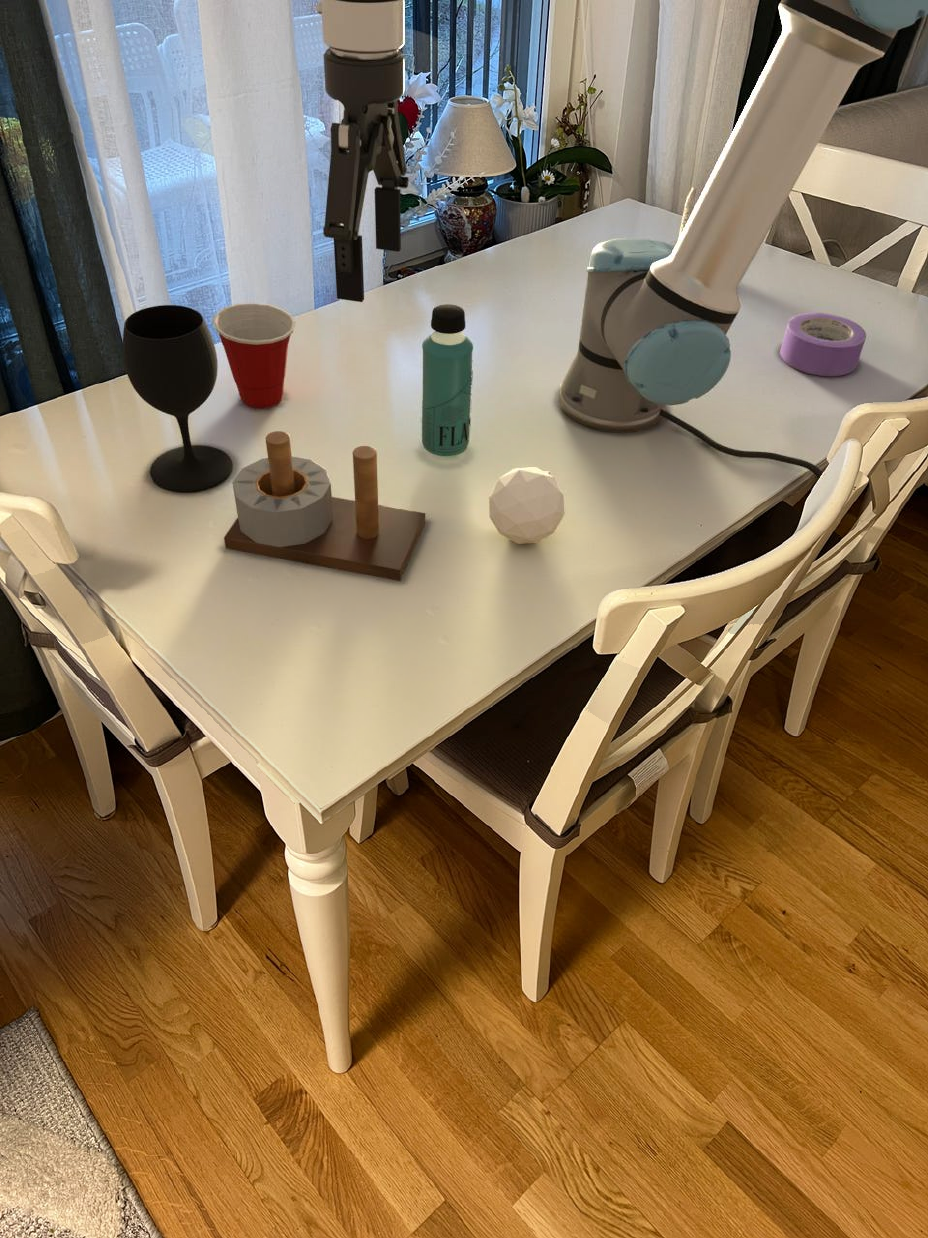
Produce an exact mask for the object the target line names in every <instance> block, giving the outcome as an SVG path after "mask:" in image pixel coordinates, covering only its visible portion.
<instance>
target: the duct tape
mask: <svg viewBox="0 0 928 1238" xmlns="http://www.w3.org/2000/svg"><path fill="white" fill-rule="evenodd" d="M291 456H292V455H291ZM292 466H293V475H294V485H295V493H294V494H293V495H288V496H281V497H278V496H273V495H272V487H271V478H270V470H269V462H268V457H265V458H264V457H263V458H261V459H259V460H257V461H254V462H252V463H250V464H249V465H247V466H244V467H243V468H241V470H239V472H238V474H237V475H236V477H235V478H234V479H233V481H231V482H232V488H233V495H234V501H235V509H236V515H237V518H238V521H239V525H240V530H241V532H242V533H244V534H245V535H246V536H248V537H249V538H250V539H252V540H253V541H255V542H256V543H259V544H265V545H270V546H275V547H286V546H293V545H299V544H305V543H308V542H309V541H311V540H313V539H315V538H316V537H318V536H320V535H322V534H324V533H325V532H326V530H327V528H328V526H329V525H330V523H331V521H332V519H333V508H332V497H333V496H332V495H333V494H332V483H331V479H330V477H329V473H328V471H327V469H326V468H325V467H323V466H321V465H320V464H318V463H316V462H315V461H314V460H312V459H310V458H305V457H299V456H292Z"/></svg>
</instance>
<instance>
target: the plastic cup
mask: <svg viewBox="0 0 928 1238" xmlns="http://www.w3.org/2000/svg"><path fill="white" fill-rule="evenodd" d="M296 323H297V322H296V319H294V317H293V314H290V313H289V312H288V311H286V310H285V309H283V308H281V307H277V306H275V305H272V304H269V303H268V304H267V303H261V302H260V303H258V302H244V303H236V304H232V305H229V306H225V307H223V308H221V309H220V310H219V311H217V312H216V313H214V316H213V319H212V324H213V326H214V329H215V331H216V332H217V333H218V336H219V338H220V341H221V344H222V347H223V348H224V352H225V355H226V359H227V362H228V365H229V369H230V372H231V375H232V377H233V381H234V383H235V385H236V388H237V391H238V394H239V397H240V400H241V402H242V403H243V405H245V406H247V407H249V408H252V409H262V410H264V409H269V408H273V407H275V406H278V405H279V404H280V403H281V402H282V401H283V396H284V391H285V389H284V388H285V378H286V374H287V373H286V372H287V363H288V351H289V343H290V339H291V336H292V334H293V333H294V330H295V327H296Z"/></svg>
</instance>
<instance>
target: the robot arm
mask: <svg viewBox="0 0 928 1238" xmlns="http://www.w3.org/2000/svg"><path fill="white" fill-rule="evenodd" d="M778 12H779V16H780V20H781V25H782V31H781V35H780V36H779V38H778V39H777V42H776V44H775V46H774V48H773V50H772V52H771V54H770V56H769V58H768V60H767V63H766V64H765V66H764V68H763V70H762V72H761V74H760V76H759V78H758V80H757V82H756V85H755V87H753V88H754V89H753V90H752V92H751V95H750V97H749V98H748V100H747V102H746V104H745V106H744V108H743V111H742V112H741V114H740V116H739V118H738V121H737V122H736V124H735V127H734V128H733V131H732V132H731V134H730V136H729V139H728V140H727V143H726V144H725V147H724V148H723V151H722V152H721V154H720V156H719V158H718V160H717V162H716V164H715V166H714V169H713V170H712V173H711V174H710V177H709V178H708V180H707V182H706V183H705V187H704V188H703V190H702V191H701V195H700V196H699V199H698V200H697V202H696V203H695V206H694V209H693V212H692V214H691V216H690V218H689V220H688V222H687V224H686V226H685V228H684V230H683V232H682V234H681V236H680V238H679V237H678V238H679V239H677V241H678V242H677V244H676V246H673V245H671V244H670V243H668V242H665V241H663V240H662V241H661V240H658V239H657V240H656V239H650V238H642V237H623V238H620V237H619V238H613V239H608V240H605V241H603V242H600V243H598V244H597V245H596V246H595V247H594V248H593V249H592V251H591V254H590V259H589V264H588V267H587V268H586V273H587V275H586V283H585V291H584V298H583V307H582V315H581V316H582V317H581V324H580V329H579V339H578V347H577V351H576V354H575V355H574V357H573V359H572V361H571V363H570V365H569V367H568V369H567V371H566V373H565V374H564V377H563V379H562V380H561V383H560V386H559V393H558V404H559V407H560V409H561V411H562V412H563V413H564V414H565V415H566V416H567V417H569V418H571V420H573V421H575V422H576V423H578V424H580V425H582V426H585V427H588V428H591V429H594V430H598V431H604V432H609V433H610V432H611V433H632V432H637V431H642V430H645V429H649V428H651V427H653V426H654V425H656V424H657V423H659V422H660V421H661V420H662V418H664V419H666V420H667V421H669V422H671V423H673V424H675V425H676V426H679V428H682V429H684V430H685V431H687V432H689V433H690V434H691V435H693V436H695V437H697V438H698V439H699V440H700V441H702V442H703V443H705V444H706V445H708V446H709V447H711V448H712V449H714V450H716V451H718V452H721V453H723V454H726V455H729V456H732V457H737V458H738V457H739V458H744V459H745V458H746V459H747V458H748V459H764V460H765V459H766V460H773V461H777V462H781V463H784V464H790V465H794V466H797V467H798V466H799V467H802V468H804V469H807V470H809V472H811V473H813V474H814V475H815V477H817V479H819V478H820V476H821V475H822V473H824V472H823V471H822V470H821V469H820V467H818V466H816V465H815V464H814V463H811V462H810V461H807V460H805V459H802V458H797V457H792V456H788V455H784V454H779V453H775V452H770V451H757V450H755V451H753V450H740V449H736V448H735V449H734V448H731V447H729V446H727V445H726V446H725V445H723V444H721V443H719V442H717V441H715V440H714V439H712V438H711V437H709V436H708V435H706V434H705V433H704V432H702V431H701V430H699V429H698V428H696V427H694V426H693V425H691V424H689V423H687V422H686V421H684V420H683V419H681V418H679V417H677V416H675V415H674V414H672V413H670V412H668V411H666V407H667V406H678V405H683V404H687V403H688V402H689V401H692V400H693V399H699V398H701V397H702V396H704V395H706V394H707V393H709V392H710V391H712V389H714V388H715V387H716V386H717V384H718V383H719V382H721V380H722V378H723V377H724V376H725V374H726V372H727V371H728V368H729V366H730V362H731V359H732V358H731V356H732V351H731V343H730V340H729V339H730V338H728V336H727V333H728V332H729V330H730V329H731V327H732V324H733V322H734V321H735V319H736V318H737V315H738V314H739V312H740V310H741V307H742V306H741V301H740V297H739V293H738V287H739V286H740V284H741V282H742V280H743V279H744V277H745V275H746V273H747V272H748V270H749V267H750V266H751V264H752V262H753V260H754V258H755V256H756V255H757V254H758V251H759V249H760V248H761V246H762V244H763V243H764V241H765V239H766V237H767V235H768V233H769V232H770V231H771V228H772V226H773V225H774V223H775V221H776V219H777V217H778V215H779V213H780V212H781V210H782V208H783V207H784V205H785V203H786V201H787V199H788V198H789V196H790V194H791V192H792V191H793V189H794V186H795V185H796V183H797V181H798V179H799V177H800V176H801V174H802V172H803V171H804V168H805V167H806V165H807V163H808V161H809V160H810V158H811V156H812V154H813V153H814V151H815V149H816V148H817V146H818V143H819V142H820V140H821V138H822V136H823V134H824V133H825V131H826V129H827V127H828V125H829V123H830V122H831V120H832V119H833V116H834V114H836V111H837V109H838V108H839V105H840V104H841V102H842V100H843V99H844V97H845V95H846V93H847V91H848V89H849V87H850V86H851V84H852V83H853V80H854V79H855V76H856V75H857V73H858V72H859V70H860V69H861V68H862V67H864V66H866V65H868V64H869V63H872V62H874V61H876V60H878V59H880V58H883V57H884V55H885V54H886V52H887V51H888V50H889V48H890V46H891V44H892V42H893V40H894V38H895V37H896V35H897V33H898V31H899V30H902V29H904V28H907V27H910V26H912V25H914V24H915V23H916V21H918V20H919V19H921V18H925V17H926V16H927V15H928V0H781V1H780V2H779V4H778ZM316 13H318V15H320V16H321V26H322V40H323V43H324V45H326V47H328V48H327V49H325V52H324V53H323V72H324V89H325V92H326V95H328V96H329V97H330V98H331V99H332V100H333V101H338V102H339V103H341V104H342V106H343V117H342V119H341V121H340V122H332V123H331V125H330V159H329V160H330V161H329V169H328V171H329V172H328V180H327V181H328V182H327V183H328V184H327V192H326V193H327V194H326V203H325V204H326V205H325V215H324V216H325V217H324V226H323V228H322V232H323V233H322V234H323V236H324V237H325V238H329V239H333V251H334V270H335V272H334V273H335V287H336V289H335V290H336V299H337V300H344V301H351V302H356V303H357V302H358V303H363V302H364V300H365V284H364V282H365V279H364V256H363V255H364V252H363V235H361V234H360V235H359V232H360V225H361V219H362V213H363V208H364V202H365V198H366V197H365V196H366V191H367V184H368V180H369V179H368V178H369V174H370V172H372V171H373V173H374V177H375V179H376V182H377V185H379V186H376V187H375V188H374V216H375V217H374V219H375V224H374V225H375V249H376V250H382V251H389V252H398V253H400V251H401V250H402V229H401V227H402V226H401V225H402V223H401V222H402V218H401V217H402V215H401V209H402V208H401V205H402V204H401V189H398V188H402V189H408V187H409V180H410V179H409V177H408V176H406V174H407V170H408V169H407V163H406V157H405V150H404V144H403V137H402V131H401V124H400V117H399V110H398V109H399V108H398V107H399V105H398V101H399V100H400V99H401V98H402V97H403V95H404V94H405V56H404V54H403V53H402V52H401V51H402V50H400V49H401V48H403V46H404V45H405V43H406V41H405V40H406V39H405V38H406V36H405V35H406V34H405V33H406V32H405V0H320V2H318V3H317V5H316Z"/></svg>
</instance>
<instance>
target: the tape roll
mask: <svg viewBox="0 0 928 1238" xmlns="http://www.w3.org/2000/svg"><path fill="white" fill-rule="evenodd" d="M785 329H786V330H785V333H784V337H783V340H782V344H781V347H780V351H779V354H780V357H781V359H782V361H784V363H786V364H787V365H788V366H790V367H792V368H793V369H795V370H797V371H799V372H802V373H806V374H809V375H814V376H820V377H840V376H844V375H848V374H850V373H852V372H853V371H854V370H855V369H856V368H857V365H858V362H859V359H860V357H861V353H862V352H863V348H864V345H865V342H866V339H867V333H866V331H865V329H864V328H863V327H862V326H861V325H860V324H858V323H857V322H855V321H853V320H851V319H849V318H846V317H843V316H840V315H836V314H831V313H824V312H805V313H800V314H796V315H794V316H792V317H791V318H790V319H789V321H788V323H787V325H786V328H785Z"/></svg>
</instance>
